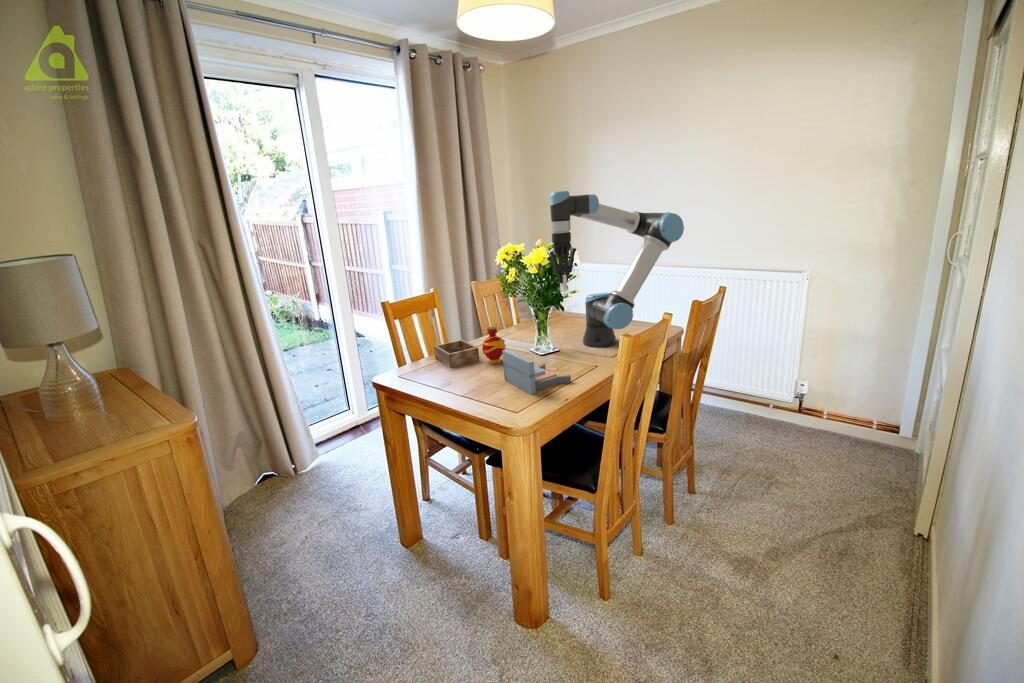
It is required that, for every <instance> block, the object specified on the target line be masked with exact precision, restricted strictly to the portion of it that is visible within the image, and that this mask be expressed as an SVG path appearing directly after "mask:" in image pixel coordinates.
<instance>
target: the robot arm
mask: <svg viewBox="0 0 1024 683" xmlns="http://www.w3.org/2000/svg"><path fill="white" fill-rule="evenodd" d="M549 196H550V197H549V207H550V224H551V228H550V229H551V232H552V234H551V243H552V246H551V249H550V250H548V251H547V252H546V253H547V256H550V257H549V259H550V258H551V260H550V262H551V261H552V264H553V268H552V272H553V274H555V275H557V278H558V279H557V280H558V284H559V291H560V292H567V291H568V284H567V283H568V282H569V277H568V276H569V275H570V273H572V272H573V265H574V259H575V254H576V252H577V248H575V247H573V246H572V243H571V242H572V235H571V234H572V233H571V232H570V231H571V228H572V227H571V216H572V217H577V218H580V219H585V220H588V221H591V222H593V221H594V222H597V223H600V224H603V225H607V226H608V225H609V226H611V227H616V228H619V229H621V230H622V229H623V230H626V231H627V233H628V234H632V235H636V236H638V237H641V238H643V241H644V242H643V243H642V245H641V247H640V249H639V250H638V251H637V254H636V255H635V257H634V259H633V261H632V262H631V264H630V265H629V267H628V269H627V271H626V272H625V274H624V276H623V278H622V280H621V281H620V283H619V284H618V286H617V288H616V289H615V290H613V291H610V292H601V293H599V292H598V293H592V294H587V295H586V297H585V302H584V304H585V324H586V327H585V331H584V334H583V337H582V343H583V345H585V346H587V347H592V348H593V347H594V348H604V347H611V346H613V345H615V344H617V343H616V342H617V338H616V337H617V336H616V335H615V330H621V329H624V328H627V326H629V325H630V324H631V323H632V320H633V318H634V310H633V309H634V307H635V305H636V304H635V298H636V296H637V295H638V293H639V292H640V290H641V288H642V287H643V285H644V283H645V281H646V279H648V276H649V275H650V273H651V271H652V270H653V268H654V266H655V265H656V263H657V261H658V260H659V258H660V256H661V254H662V253H663V252H664V251H667V250H668V249H670V247H671V245H672V243H674V242H677V241H679V240H680V239H681V238H682V236H683V234H684V230H685V226H684V221H683V219H682V217H681V216H680V215H679V214H677V213H673V212H669V211H668V212H640V211H632V212H630V211H627V210H623V209H620V208H616V207H613V206H609V205H606V204H602V203H600V201H599V200H600V199H599V198H598V196H597V194H593V193H592V194H591V193H590V194H589V193H587V194H579V195H578V194H576V195H570V191H568V190H566V191H565V190H562V191H552V192H551V193H550V194H549ZM553 243H554V244H553ZM569 250H570V252H571V255H570V258H569V260H568V254H569V252H568V251H569ZM556 255H557V256H558V259H559V268H558V264H557V258H556ZM563 255H565V258H564V261H565V262H564V275H563ZM552 264H551V265H552Z"/></svg>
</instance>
